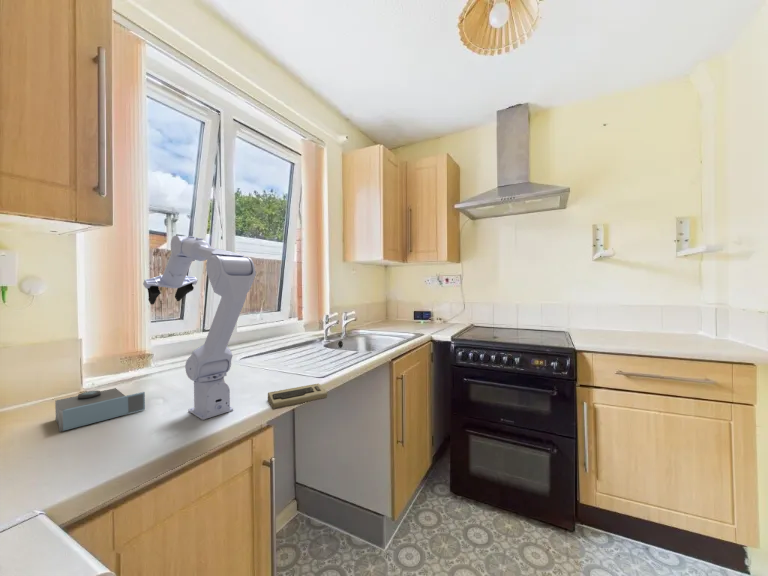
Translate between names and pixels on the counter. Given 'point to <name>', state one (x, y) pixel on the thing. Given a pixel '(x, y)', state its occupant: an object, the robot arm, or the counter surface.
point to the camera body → (85, 399)
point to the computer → (296, 395)
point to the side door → (100, 411)
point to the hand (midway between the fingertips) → (164, 300)
